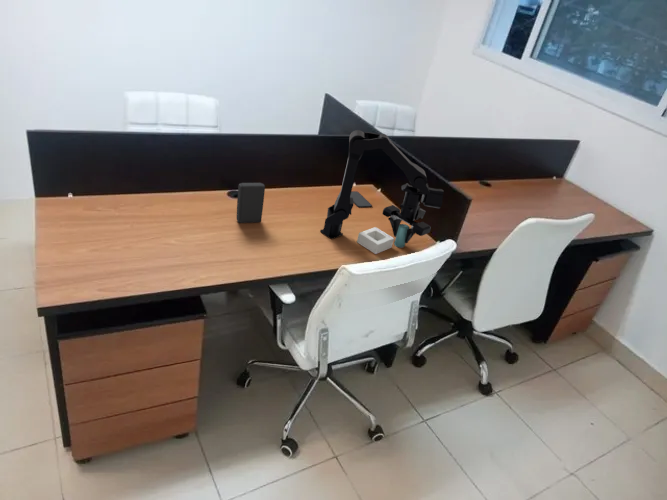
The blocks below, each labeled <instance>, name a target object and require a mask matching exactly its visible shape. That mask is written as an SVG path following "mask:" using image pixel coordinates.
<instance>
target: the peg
mask: <svg viewBox="0 0 667 500" xmlns="http://www.w3.org/2000/svg"><path fill="white" fill-rule="evenodd" d="M408 225H409V224H408ZM408 225H407V224H405V223H400V225H399V228H398V231H397V235H396V237H395V238H394V241H393V244H394V246H395V247H397V248H401V249H402V248H404V247H405V246H406V243H405V239H406V233H407V230H408V229H410V228H411V227H410V225H409V226H408Z"/></svg>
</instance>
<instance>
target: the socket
mask: <svg viewBox="0 0 667 500" xmlns="http://www.w3.org/2000/svg"><path fill="white" fill-rule="evenodd" d="M394 242H395V238H394V236H391V235H390V234H387V233H386V232H385V231H383V230H381V229H380V228H378V227H377V226H374V227H372V228H369V229H366V230H364V231H360V232H359V233H358V236H357V240H356V243H358V244H359V245H361V246H362V247H364V248H365V249H367V250H368V251H370V252H371V253H373V254H375V255H377V254H379V253H382V252H384V251H386V250H389V249H391V248H392V247H393V244H394Z"/></svg>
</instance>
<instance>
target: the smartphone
mask: <svg viewBox="0 0 667 500" xmlns="http://www.w3.org/2000/svg"><path fill="white" fill-rule="evenodd" d="M350 198H353V205H354V206H356V208H359V209H360V208H361V209H363V208H373V204H372V203H371V202H370V201H368V200H367V198H365V197H364V196H363V195H362V194H361V193H360V192H359V191H356V190H355V191H354V190H353V191H351V195H350Z"/></svg>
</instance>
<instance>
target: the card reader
mask: <svg viewBox="0 0 667 500" xmlns="http://www.w3.org/2000/svg"><path fill="white" fill-rule="evenodd" d="M237 187H238V189H237V200H236V202H237V203H236V222H237V223H240V224H244V223H245V224H246V223H260V222H261V221H262V217H263V208H264V202H265V201H264V200H265V192H266V191H265V189H266V186H265V184H264V183H262V182H241V183H239V184H238V186H237Z"/></svg>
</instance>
